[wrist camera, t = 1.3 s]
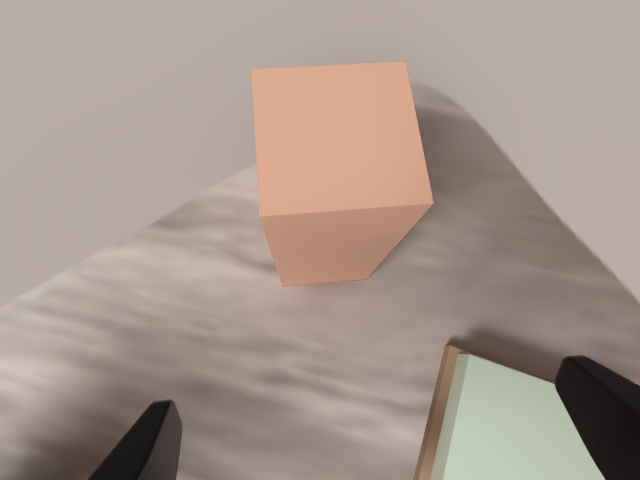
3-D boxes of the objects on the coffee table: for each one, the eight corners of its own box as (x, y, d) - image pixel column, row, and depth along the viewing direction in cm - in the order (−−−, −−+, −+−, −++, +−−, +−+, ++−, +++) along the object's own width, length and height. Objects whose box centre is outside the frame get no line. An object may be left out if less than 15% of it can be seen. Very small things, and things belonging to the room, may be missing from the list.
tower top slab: (600, 608, 17) (627, 631, 16) (417, 537, 18) (427, 553, 16) (618, 410, 20) (643, 415, 18) (458, 354, 20) (469, 354, 19)
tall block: (366, 279, 22) (433, 203, 11) (282, 287, 22) (259, 216, 10) (355, 202, 24) (405, 61, 12) (277, 208, 23) (251, 68, 12)
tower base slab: (584, 608, 19) (608, 630, 17) (395, 534, 19) (402, 549, 18) (606, 404, 21) (627, 408, 20) (440, 345, 22) (450, 345, 21)
